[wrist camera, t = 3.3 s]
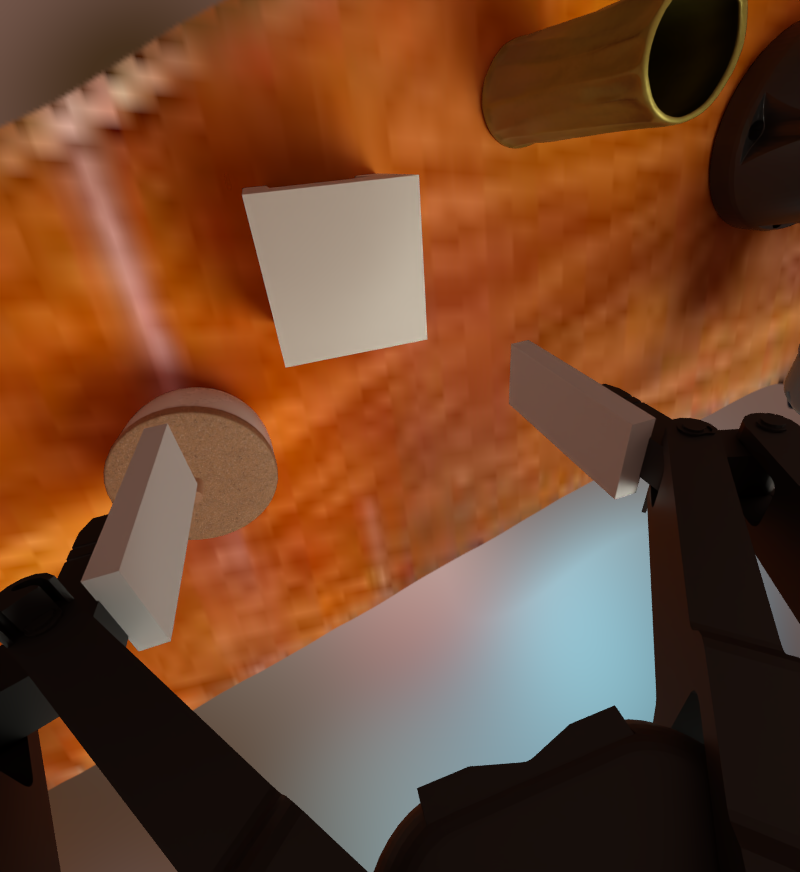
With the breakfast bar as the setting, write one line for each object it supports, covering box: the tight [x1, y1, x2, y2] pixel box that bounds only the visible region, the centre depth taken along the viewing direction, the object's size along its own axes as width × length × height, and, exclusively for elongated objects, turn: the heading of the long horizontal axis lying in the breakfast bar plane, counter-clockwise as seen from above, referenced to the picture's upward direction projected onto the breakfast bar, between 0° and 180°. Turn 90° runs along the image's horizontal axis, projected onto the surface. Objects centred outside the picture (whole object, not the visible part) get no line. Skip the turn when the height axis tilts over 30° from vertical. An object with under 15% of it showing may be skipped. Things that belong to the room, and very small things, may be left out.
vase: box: [482, 0, 748, 148], centre depth 24 cm, size 6×6×14 cm
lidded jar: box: [104, 387, 278, 540], centre depth 31 cm, size 11×11×9 cm
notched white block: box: [242, 174, 427, 367], centre depth 27 cm, size 9×9×9 cm
